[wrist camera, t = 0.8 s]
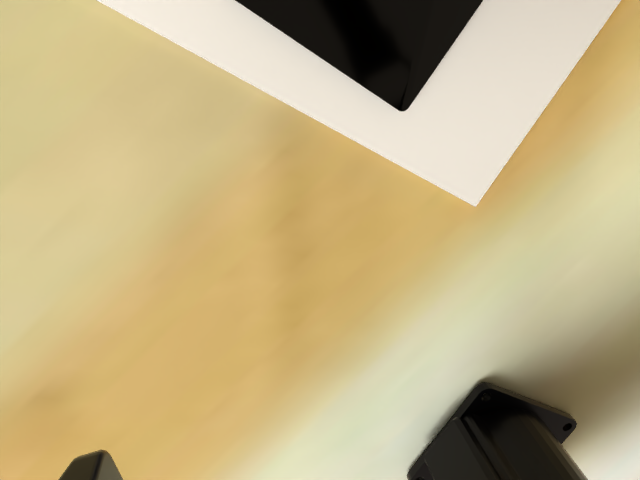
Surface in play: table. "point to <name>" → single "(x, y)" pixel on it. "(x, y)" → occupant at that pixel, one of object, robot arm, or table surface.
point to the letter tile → (432, 101)
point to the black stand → (374, 38)
